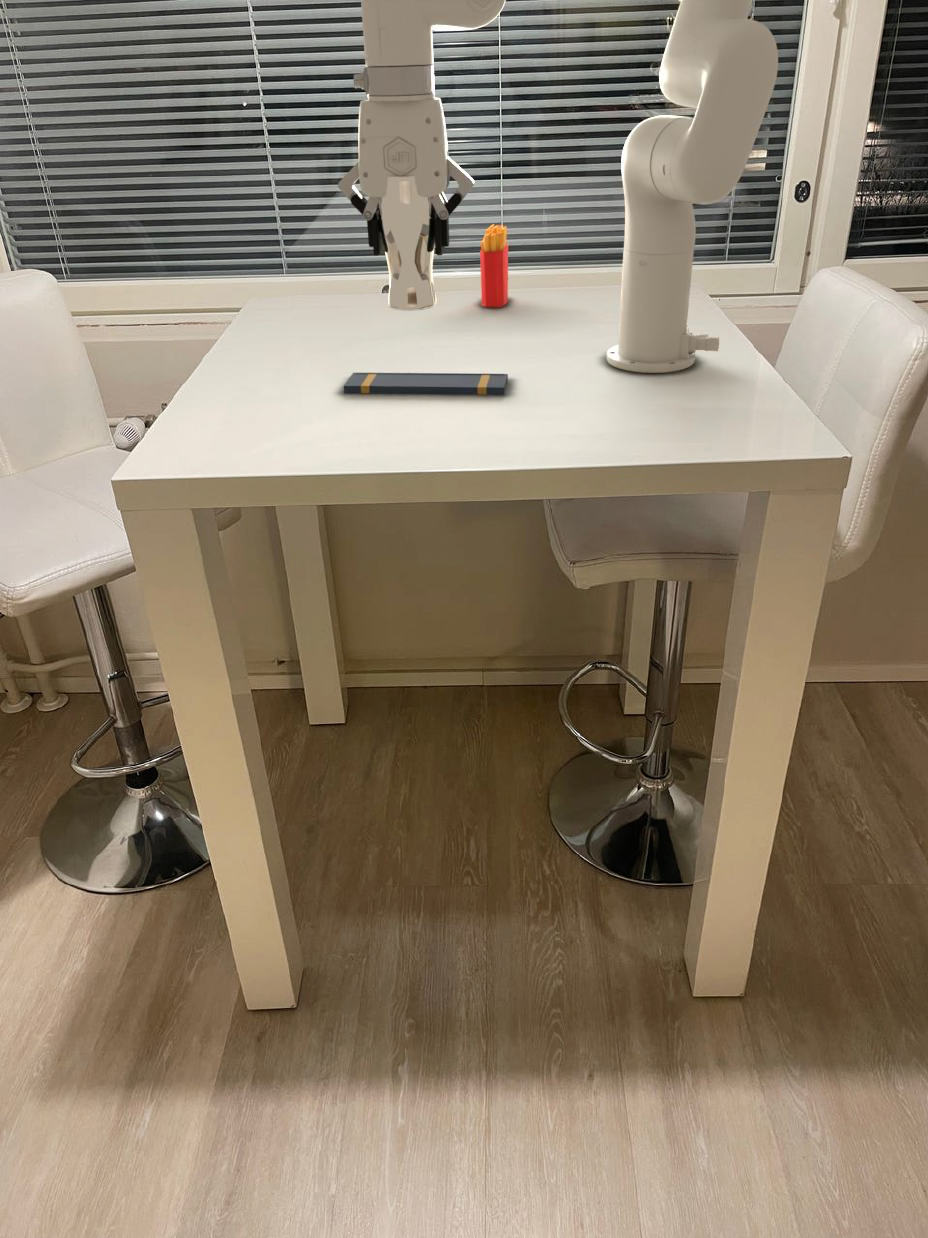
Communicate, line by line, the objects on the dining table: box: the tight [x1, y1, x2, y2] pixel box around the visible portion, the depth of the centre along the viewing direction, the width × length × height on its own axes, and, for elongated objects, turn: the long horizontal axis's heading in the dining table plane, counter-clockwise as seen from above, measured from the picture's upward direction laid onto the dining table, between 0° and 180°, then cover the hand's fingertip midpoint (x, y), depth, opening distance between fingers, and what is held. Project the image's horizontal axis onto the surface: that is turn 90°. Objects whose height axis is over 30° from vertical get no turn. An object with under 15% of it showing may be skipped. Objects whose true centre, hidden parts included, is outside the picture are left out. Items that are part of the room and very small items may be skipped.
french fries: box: [479, 223, 509, 308], centre depth 167 cm, size 9×4×13 cm, turn 168°
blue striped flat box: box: [343, 372, 509, 396], centre depth 130 cm, size 22×6×1 cm, turn 83°
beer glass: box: [378, 176, 438, 312], centre depth 114 cm, size 7×7×15 cm
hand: (409, 251), depth 115 cm, fingers closed on beer glass, 6 cm apart
